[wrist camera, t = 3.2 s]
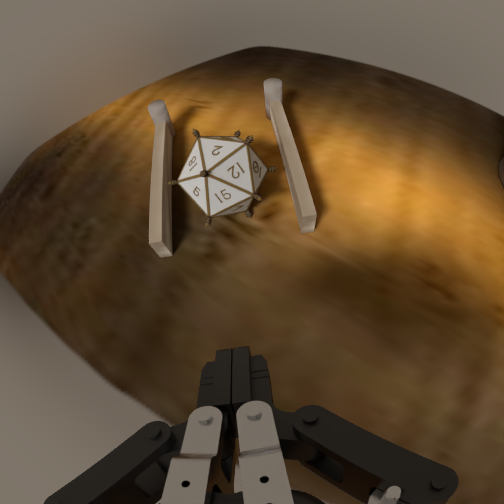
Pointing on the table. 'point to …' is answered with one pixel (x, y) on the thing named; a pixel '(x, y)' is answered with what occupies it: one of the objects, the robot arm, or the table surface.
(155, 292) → the table surface
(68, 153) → the table surface
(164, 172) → the chute
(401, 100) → the table surface
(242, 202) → the game die
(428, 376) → the table surface
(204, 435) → the robot arm
